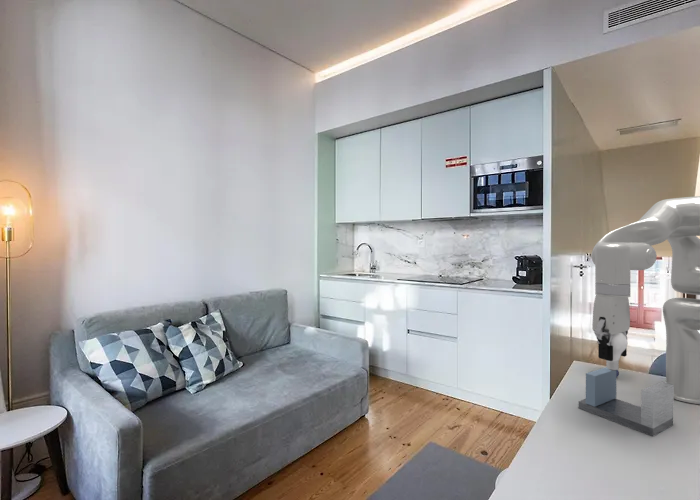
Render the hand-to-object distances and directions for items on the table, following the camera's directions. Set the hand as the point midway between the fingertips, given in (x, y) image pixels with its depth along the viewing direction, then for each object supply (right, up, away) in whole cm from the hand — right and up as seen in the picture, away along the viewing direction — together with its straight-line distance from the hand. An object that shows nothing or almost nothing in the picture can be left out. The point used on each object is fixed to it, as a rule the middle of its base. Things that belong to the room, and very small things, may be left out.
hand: (612, 356), depth 94 cm
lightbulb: (0, -4, 0) cm, 4 cm away
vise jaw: (+5, -16, +11) cm, 21 cm away
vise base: (+8, -19, +6) cm, 21 cm away
